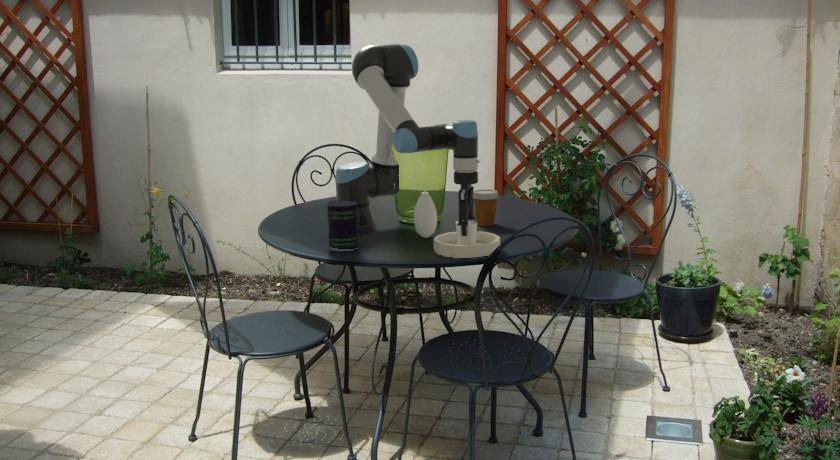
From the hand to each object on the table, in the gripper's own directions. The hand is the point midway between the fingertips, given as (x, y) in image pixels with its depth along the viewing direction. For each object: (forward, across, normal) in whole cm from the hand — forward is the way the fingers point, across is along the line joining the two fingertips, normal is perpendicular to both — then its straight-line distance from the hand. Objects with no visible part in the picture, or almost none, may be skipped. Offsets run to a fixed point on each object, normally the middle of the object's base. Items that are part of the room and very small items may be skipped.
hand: (466, 242), depth 279 cm
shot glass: (0, 0, 0) cm, 0 cm away
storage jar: (+3, -2, +40) cm, 40 cm away
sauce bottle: (+3, +17, +17) cm, 24 cm away
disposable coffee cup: (+3, +39, 0) cm, 39 cm away
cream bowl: (+3, 0, 0) cm, 3 cm away
